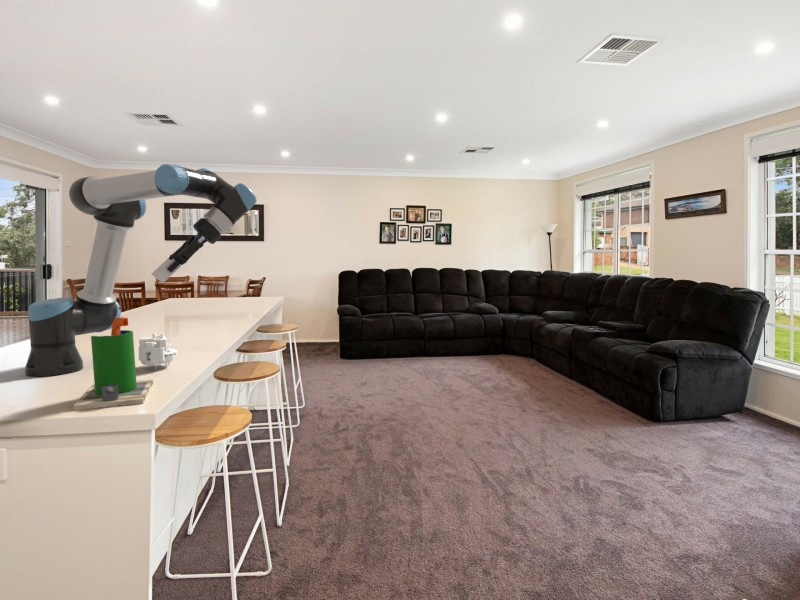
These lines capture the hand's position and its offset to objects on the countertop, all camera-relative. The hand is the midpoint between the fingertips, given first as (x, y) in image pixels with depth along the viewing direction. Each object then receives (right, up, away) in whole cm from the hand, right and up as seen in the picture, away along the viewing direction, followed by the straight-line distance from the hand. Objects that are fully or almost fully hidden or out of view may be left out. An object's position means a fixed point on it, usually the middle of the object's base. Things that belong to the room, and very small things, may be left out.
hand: (156, 278), depth 128 cm
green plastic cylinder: (-9, -31, -2) cm, 32 cm away
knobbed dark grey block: (-6, -32, -10) cm, 34 cm away
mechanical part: (-14, -29, +28) cm, 43 cm away
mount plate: (-9, -32, -3) cm, 33 cm away
